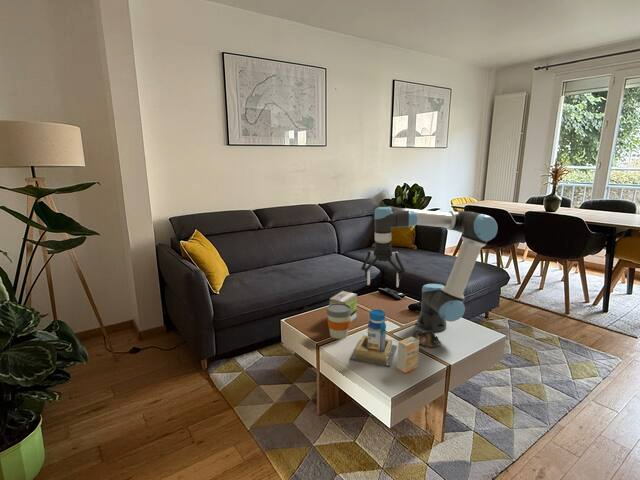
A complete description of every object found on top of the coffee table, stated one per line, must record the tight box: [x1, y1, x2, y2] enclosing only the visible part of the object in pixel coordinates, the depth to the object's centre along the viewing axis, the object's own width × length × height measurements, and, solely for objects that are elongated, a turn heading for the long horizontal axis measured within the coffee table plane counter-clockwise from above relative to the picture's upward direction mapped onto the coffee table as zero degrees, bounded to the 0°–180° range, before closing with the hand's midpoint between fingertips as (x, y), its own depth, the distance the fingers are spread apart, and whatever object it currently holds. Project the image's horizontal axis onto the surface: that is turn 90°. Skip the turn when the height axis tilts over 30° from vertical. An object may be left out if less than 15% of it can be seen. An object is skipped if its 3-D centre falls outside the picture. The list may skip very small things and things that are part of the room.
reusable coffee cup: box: [326, 303, 352, 340], centre depth 182 cm, size 13×13×15 cm
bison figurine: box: [411, 328, 442, 348], centre depth 173 cm, size 12×7×10 cm
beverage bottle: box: [366, 308, 387, 352], centre depth 163 cm, size 8×8×20 cm
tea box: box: [329, 290, 358, 323], centre depth 199 cm, size 15×10×15 cm, turn 148°
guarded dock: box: [349, 335, 398, 368], centre depth 165 cm, size 18×18×4 cm
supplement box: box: [396, 336, 420, 374], centre depth 152 cm, size 8×5×13 cm, turn 126°
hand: (382, 285), depth 168 cm, fingers open, 13 cm apart
